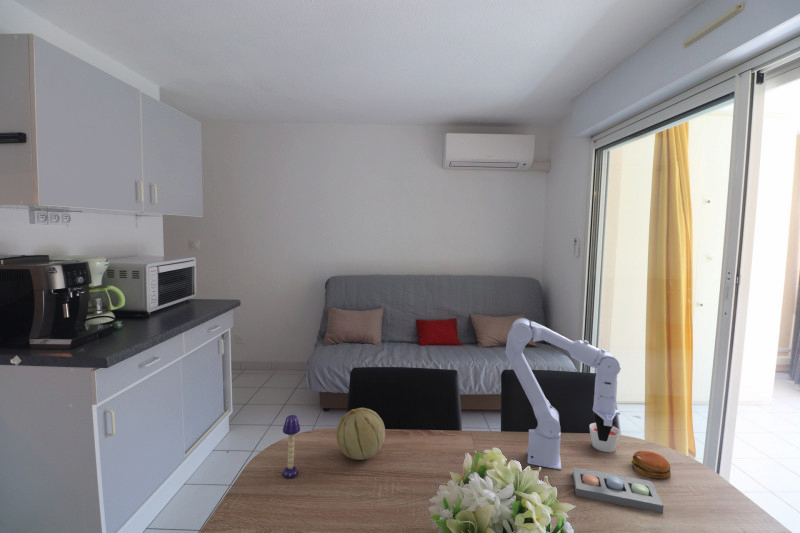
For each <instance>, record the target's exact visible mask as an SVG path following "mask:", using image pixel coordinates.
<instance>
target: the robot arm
mask: <svg viewBox="0 0 800 533" xmlns="http://www.w3.org/2000/svg"><path fill="white" fill-rule="evenodd" d="M508 330H509V332H508V334H507V338H506V339H507V340H506V345H505V346H506V348H505V355H506V357H507V360H508V362H509V364H510V366H511V368H512V370H513V371H514V373H515V375H516V378H517V380H518V382H519V383H520V385H521V387H522V389H523V391H524V393H525V395H526V396H527V399H528V401H529V403H530V404H531V407H532V410H533V413H534V416H535V419H536V421H537V426H536V427H535V428H533V429H532V428H531V429H528V445H527V447H526V454H527V464H529V465H533V466H539V467H545V468H550V469H555V470H562V462H561V455H560V453H561V439H562V438H561V437H562V436H561V434H562V433H561V430H562V429H561V425H560V413H559V411H558V410H557V409H556V408H555V407H554V406H552V405H551V403H550V401H549V400H548V399H547V397H546V396H545V394H544V391H543V390H542V387H541V386H540V384H539V382H538V380H537V378H536V375H535V374H534V373H533V370H532V368H531V366H530V365H529V364H530V363H529V362H528V361H527V359H526V356H525V355H524V350H525V347H526V346H527V344H528V343H529V342H530V341H531V340H532V342H533V343H535V342H540V341H545V342H546V343H548V344H551V345H554V346H556V347H558V348H561V349H563V350H565V351H567V352H568V353H569V356H570V357H571V358H572V359H574V360H575V361H578V362H581V363H582V364H585V365H586V366H589V367H590V368H595V370H596V372H595V373H596V374H595V379H594V395H593V406H592V411H593V412H592V416H593V419H594V421H595V423H596V426H597V434H598V438H599V440H600V441H606V442H607V440H608V437H609V433H610V431H611V429H612V427H613V426H614V427H615V425H616V422H617V421H616V418H615V417H616V415H619V416H620V414H621V411H620V410H619V409H617V408H616V407H617V406H616V405H617V392H618V375H619V373H620V372H621V369H622V368H621V366H620V365H621V364H620V362H619V361H618V359H617V358H616V356H615V355H614V354H613V353H611V352H610V351H609V350H605V348H601V349H600V348H597V347H595V346H593V345H591V344H590V342H589V341H588V340H585V339H584V340H581V339H578V340H574V341H573V340H571V339H569V338H567V337H565V336H563V335H561V334H560V333H558V332H556V331H553V330H552V329H550V328H548V327H546V326H545V325H542V324H540V323H537V322H535V321H533V320H529V319H528V318H525V317H518V318H517V319H515V320H514V321H513V322H512V324H511V326H510V328H509V329H508Z"/></svg>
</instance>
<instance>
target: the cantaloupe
mask: <svg viewBox="0 0 800 533" xmlns="http://www.w3.org/2000/svg"><path fill="white" fill-rule="evenodd" d="M335 436H336V442H337V445H338V448H339V450H340V451H341V452H342V453H343V454H344V455H345V456H346V457H348V458H349V459H351V460H359V461H361V460H363V461H364V460H366V459H369V458H372V457H374V456H375V455H377V454H378V453H379V451H380V450H381V448H382V446H383V444H384V441H385V438H386V428H385V424H384V421H383V419H382V418H381V417H380V415H379V414H378V413H377V412H376V411H374V410H372V409H370V408H366V407H358V408H354V409H350V410H349V411H347V412H346V413H345V414H344V415H343V416H342V418H341V419H340V420H339V423H338V424H337V428H336V435H335Z"/></svg>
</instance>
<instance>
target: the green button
mask: <svg viewBox="0 0 800 533" xmlns="http://www.w3.org/2000/svg"><path fill="white" fill-rule="evenodd" d="M631 492H632V493H635V494H640V495H645V496H649V489H648V488H647V487H646V486H644V485H641V484H637V483H634V484H632V486H631Z"/></svg>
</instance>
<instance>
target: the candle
mask: <svg viewBox="0 0 800 533" xmlns="http://www.w3.org/2000/svg"><path fill="white" fill-rule="evenodd" d="M589 433H590V434H589V435H590V440H591V445H592V447H593V448H594V449H595V450H598V451H600V452H603V453H614V452H615V451H616V449H617V446H618V442H619V440H620V439H619V438H620V435H621V431H620V429H619V428H617V427H616V426H615V425H614V426H613V427H612V429H611V431H610V433H609V437H608V440H607V442H606V441H600V440H599V438H598V434H597V426H596V422H593V423H590V424H589Z"/></svg>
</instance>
